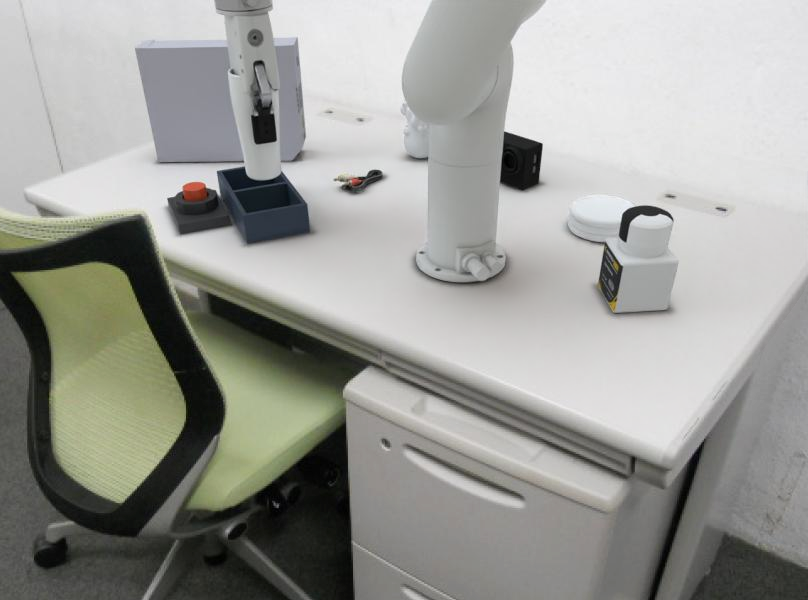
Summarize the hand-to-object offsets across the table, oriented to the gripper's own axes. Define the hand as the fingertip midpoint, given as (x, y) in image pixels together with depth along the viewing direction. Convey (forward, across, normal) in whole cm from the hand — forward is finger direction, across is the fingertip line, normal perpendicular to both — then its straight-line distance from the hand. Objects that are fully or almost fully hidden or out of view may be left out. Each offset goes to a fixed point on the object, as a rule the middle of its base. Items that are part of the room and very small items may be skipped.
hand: (259, 133), depth 113 cm
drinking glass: (+6, 0, 0) cm, 6 cm away
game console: (+15, +32, -1) cm, 35 cm away
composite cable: (+15, +9, -19) cm, 26 cm away
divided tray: (+14, +4, 0) cm, 15 cm away
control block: (+14, +8, +10) cm, 19 cm away
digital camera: (+14, +1, -42) cm, 44 cm away
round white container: (+14, -22, -46) cm, 53 cm away
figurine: (+15, +17, -33) cm, 40 cm away
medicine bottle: (+14, -41, -38) cm, 58 cm away
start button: (+11, +8, +10) cm, 17 cm away
